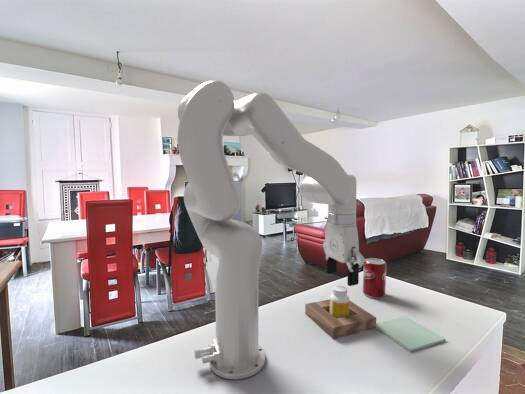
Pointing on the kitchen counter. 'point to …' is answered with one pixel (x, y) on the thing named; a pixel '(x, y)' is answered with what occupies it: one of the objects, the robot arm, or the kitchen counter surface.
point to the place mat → (409, 333)
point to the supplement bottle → (339, 302)
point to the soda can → (374, 278)
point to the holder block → (340, 319)
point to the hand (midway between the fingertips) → (341, 278)
